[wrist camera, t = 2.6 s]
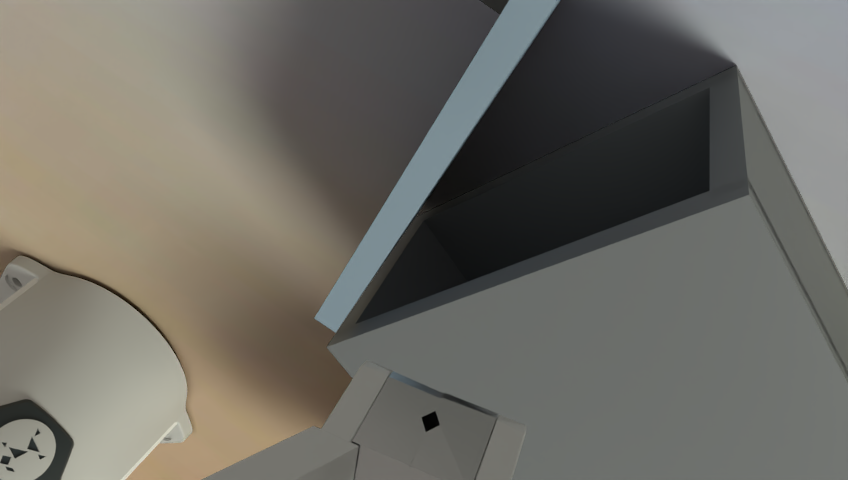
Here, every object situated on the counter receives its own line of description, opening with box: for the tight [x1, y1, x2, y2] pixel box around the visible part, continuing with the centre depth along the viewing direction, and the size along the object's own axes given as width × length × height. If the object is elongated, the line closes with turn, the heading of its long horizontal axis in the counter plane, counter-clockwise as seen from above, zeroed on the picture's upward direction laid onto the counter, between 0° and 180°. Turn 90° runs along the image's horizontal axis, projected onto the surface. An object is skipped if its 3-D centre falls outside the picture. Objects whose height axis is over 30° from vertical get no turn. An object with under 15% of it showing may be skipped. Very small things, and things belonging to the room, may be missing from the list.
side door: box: [314, 0, 561, 333], centre depth 24 cm, size 16×2×10 cm, turn 152°
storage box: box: [327, 65, 848, 480], centre depth 27 cm, size 16×14×10 cm
